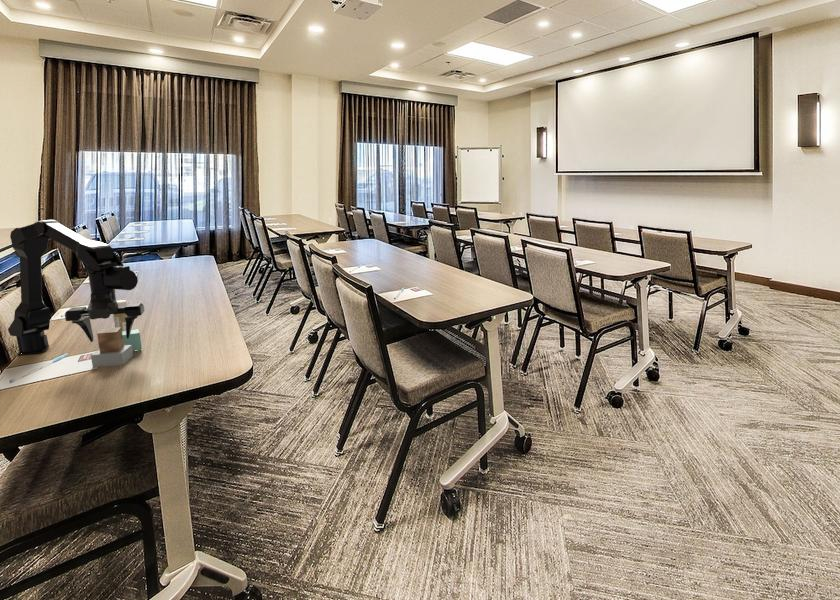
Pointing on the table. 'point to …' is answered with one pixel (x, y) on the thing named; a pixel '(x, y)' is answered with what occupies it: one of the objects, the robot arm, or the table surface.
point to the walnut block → (110, 340)
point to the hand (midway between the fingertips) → (110, 339)
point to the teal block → (133, 339)
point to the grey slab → (112, 357)
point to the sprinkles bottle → (120, 316)
